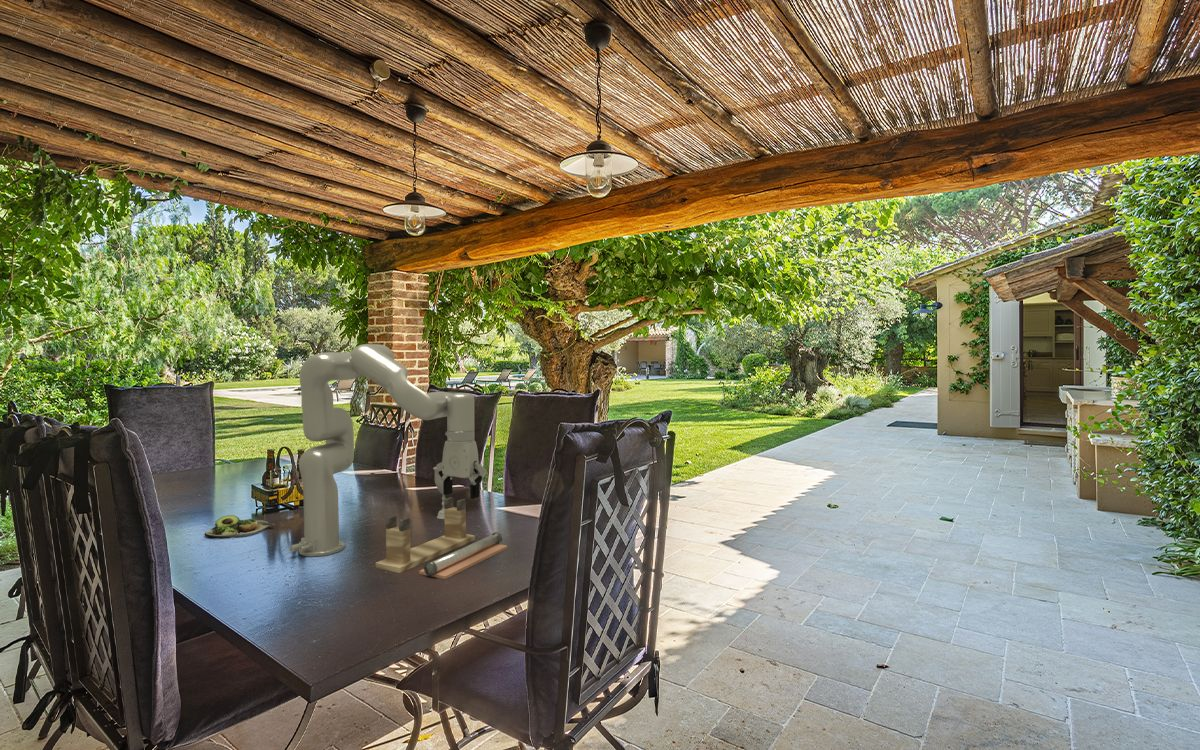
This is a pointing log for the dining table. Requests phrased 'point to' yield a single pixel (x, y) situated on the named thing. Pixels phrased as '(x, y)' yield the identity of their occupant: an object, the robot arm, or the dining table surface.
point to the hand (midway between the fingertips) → (461, 496)
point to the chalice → (440, 487)
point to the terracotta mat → (467, 562)
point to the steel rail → (461, 554)
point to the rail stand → (406, 558)
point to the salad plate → (236, 527)
